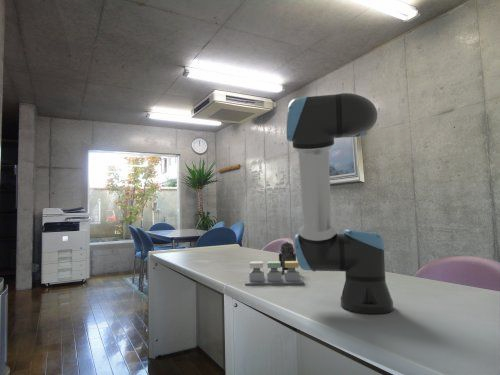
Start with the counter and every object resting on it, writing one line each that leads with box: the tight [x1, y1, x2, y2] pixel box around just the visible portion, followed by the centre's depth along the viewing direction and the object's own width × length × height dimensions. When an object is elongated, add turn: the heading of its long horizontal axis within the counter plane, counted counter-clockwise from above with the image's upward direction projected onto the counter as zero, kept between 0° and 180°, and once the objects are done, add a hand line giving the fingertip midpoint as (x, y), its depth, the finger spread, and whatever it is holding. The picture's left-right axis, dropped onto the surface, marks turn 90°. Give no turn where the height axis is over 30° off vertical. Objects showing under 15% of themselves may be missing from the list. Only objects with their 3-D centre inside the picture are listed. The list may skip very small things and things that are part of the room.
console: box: [244, 269, 306, 286], centre depth 138 cm, size 24×16×4 cm, turn 87°
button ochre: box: [285, 260, 300, 272], centre depth 138 cm, size 6×6×5 cm
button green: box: [267, 260, 282, 272], centre depth 138 cm, size 6×6×5 cm
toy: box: [278, 241, 297, 275], centre depth 156 cm, size 8×6×15 cm
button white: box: [249, 260, 264, 273], centre depth 139 cm, size 6×6×5 cm
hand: (321, 213), depth 134 cm, fingers closed
